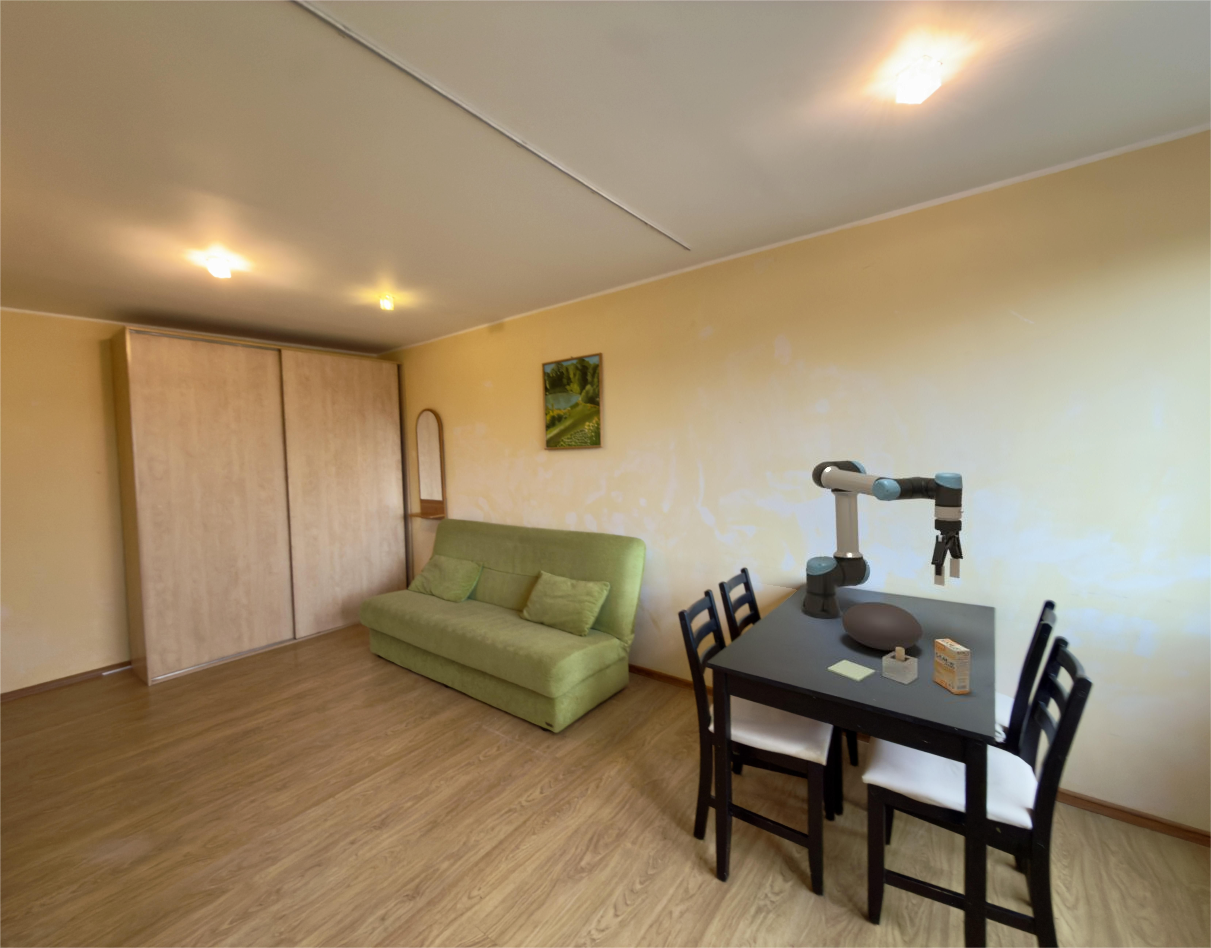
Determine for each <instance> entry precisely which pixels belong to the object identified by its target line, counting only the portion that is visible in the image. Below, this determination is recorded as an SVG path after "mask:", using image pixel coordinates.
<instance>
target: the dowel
mask: <svg viewBox="0 0 1211 948" xmlns="http://www.w3.org/2000/svg"><path fill="white" fill-rule="evenodd" d="M905 650H906V649H904V648H902V647H896V650H895V652H896V656H895V659H896V660H899V661H902V662H905V655H906V653H905V652H906V651H905Z"/></svg>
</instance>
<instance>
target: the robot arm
mask: <svg viewBox="0 0 1211 948" xmlns="http://www.w3.org/2000/svg"><path fill="white" fill-rule="evenodd" d="M811 478H812V481H813V483H814V484H815V486H817V487H819V488H822V489H826V490H830V492H831V494H832V495H834V504H835V505H834V506H835V531H836V532H835V533H836V534H835V535H836V536H835V537H836V551H835V552H834V553H833V555H832V557H831V556H826V555H824V556H815V557H811V558H810V559H809V558H808V560H807V561H806V568H805V574H806V576H805V579H806V585H805V586H806V588H805V589H806V594H805V596H804V599H803V601H802V604H801V611H802V613H803V614H805V615H807V616H810V617H813V618H818V619H835V618H836V619H837V618H839V617H840V616H841V608H840V605H839V601H838V598H837V588H844V587H856V586H860V585H863V584H865V583H866V582H867V581H868V580H869V578H870V576H871V575H870V574H871V568H870V564H868V561H867V560H866V559H865V558H864V554H863V553H862V552H860V544H859V541H860V540H859V517H858V515H859V513H858V495H860V494H862V495H867V496H872V497H875V498H876V500H878V501H884V502H885V501H886V502H891V501H901V500H902V501H904V500H918V499H919V500H920V499H923V500H924V499H925V500H932V501H933V500H934V518H935V519H934V527H933V528H934V530H936V531H938V532H940V533H939V534H936V535H935V544H934V548H933V552H932V553H933V554H932V558H931V562H930V564H931V565H932V566H934V568H933V569H934V570H933V571H934V573H933V575H934V576H933V577H934V578H933V579H934V582H933V584H934V585H937V586H942V587H945V585H946V584H945V583H946V582H945V579H946V578H945V576H946V570H945V569H946V568H945V567H946V566H945V565H944V564H945V561H946V557H947V555H948V552H949V555H950V558H949V578H955V579H960V576H961V575H960V574H961V573H960V572H961V571H960V569H961V568H960V566H961V560H963V559H964V556H963V551H962V544H961V540H960V538H961V537H960V532H961V531H962V530H963V528H962V527H963V525H962V524H963V521H962V517H963V515H962V514H963V513H964V510H963V503H962V502H963V489H964V485H963V476H962V474H961V473H958V472H937V473H935V475H934V477H933V478H932V477H924V476H923V477H921V476H909V477H907V478H906V477H903V478H892V477H885V476H881V475H874V474H873V475H872V474H868V473H867V470H866V468H865V466H863V465H862V464H861V463H860V462H859V461H856V460H848V459H847V460H834V461H822V462H820V463H818V464H817V465H816V466H814V468H813V470H812V473H811Z"/></svg>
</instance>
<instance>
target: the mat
mask: <svg viewBox="0 0 1211 948" xmlns="http://www.w3.org/2000/svg"><path fill="white" fill-rule="evenodd" d="M827 671H828V672H832V673H835V674H837V675H839V676H842V677H845V678H847V679H850V680H853V681H855V682H861V681H863V680H864V679H866V678H868V677H870V676H871V675H874V674H876V670H874V669H871V668H869V667H866V666H863V665H860V664H857V663H856V662H855V663H854V662H852V661H849V660H847V659H843V660H841V661H839V662H836V664H833V665H832V666H829V667H828V668H827Z"/></svg>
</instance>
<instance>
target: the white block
mask: <svg viewBox="0 0 1211 948" xmlns="http://www.w3.org/2000/svg"><path fill="white" fill-rule="evenodd" d="M895 656H896V651H895V650H892V652H891V651H890V652H889V653H888V654H885V655H884V656H882V677H884V678H887V679H890V680H892V681H895V682H898V683H901V684H904V685H908V684H910V683H911V682H913V681H914V680H917V679H918V661H919V660H918V658H916V657H913V656H909V655H906V654H905V662H902V661H899V660H896V659H895Z"/></svg>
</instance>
